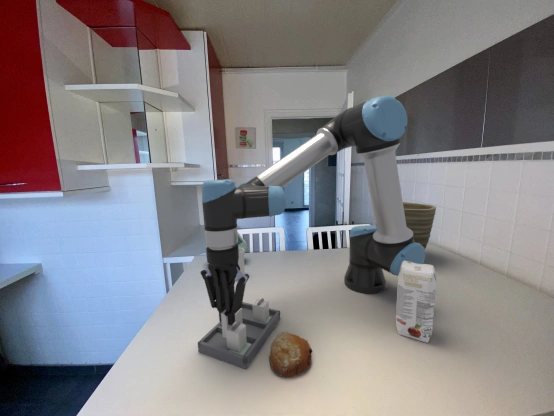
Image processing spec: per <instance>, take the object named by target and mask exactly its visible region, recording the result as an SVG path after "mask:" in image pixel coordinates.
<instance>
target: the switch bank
mask: <svg viewBox="0 0 554 416" xmlns="http://www.w3.org/2000/svg"><path fill="white" fill-rule="evenodd" d="M241 308H242V321H243V324H244V325H246V338H247V343H246V345H245V346H244V347H243V348H242V350H241V351H240V352H237V351H234V350H231V349H228V348H227V340H226V338H224V337H223V336H222V323H221V322H220V321H218V323H217V324H216V325H215V326H213V327H212V328H211V329H210V330H209V331H208V332H207V333H206V334H205V335H204V336H203V337H202V338H201V339H200V340H198V341H197V350H198V352H199V353H200V354H203V355H206V356H208V357H212V358H214V359H217V360H219V361H223V362H225V363H228V364H231V365H233V366H235V367H238V368H241V369H244V370H247V369H248V367H249V366H250V364H251V363H252V361H253V360H254V358H255V357H256V356H257V354H258V353H259V351H260V350H261V348H262V347H263V345H264V344H265V342H266V341H267V339H268V338H269V337H270V335H271V334H272V332H273V331H274V329H275V328H276V326H277V325H278V323H279V322H280V320H281V310H278V309H274V308H271V307H269V317H268V319H267V320H266V321H265V322H262V321H258V320H254V319H253V307H252V303H248V302H244V301H243V302H242V307H241Z"/></svg>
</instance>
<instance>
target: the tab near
mask: <svg viewBox="0 0 554 416" xmlns="http://www.w3.org/2000/svg"><path fill="white" fill-rule="evenodd" d="M226 340H227V348H228V349H231V350H234V351H237V352H240V351H241V350H242V348H243V347H244V346H245V345H246V343H247V338H246V325H244V324H240V322H234V323H233V324H232V326H231V325H230V326H229V327H228V328H227V329H226Z"/></svg>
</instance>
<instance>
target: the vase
mask: <svg viewBox="0 0 554 416" xmlns="http://www.w3.org/2000/svg"><path fill="white" fill-rule="evenodd" d="M403 207H404V214H405V220H406V227H407V228H409V229H411V230H412V231H413V236H414V241H415V242H416V243H419V244H421V245H422V246H423V247H424V249H425V250H426V249H427V245H428V243H429V241H430V237H431V232H432V228H433V223H434V221H435V216H436V212H437V211H436V209H437V206H435V205H432V204H425V203H417V202H407V201H403Z"/></svg>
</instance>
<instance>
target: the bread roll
mask: <svg viewBox="0 0 554 416" xmlns="http://www.w3.org/2000/svg"><path fill="white" fill-rule="evenodd" d="M312 353H313V349H312V347H311V344H309V342H308V339H305V338H304V337H301V336H300V335H297V334H295V333H292V332H289V331H285V332H281V333H279V334H278V335H277V336H276V337H275V338H274V339H273V341H272V342H271V343H270V350H269V355H268V359H269V365H270V367H271V368H272V371H273V372H275V373H276V374H277V375H278V376H281V377H284V378H293V377H295V376H298V375H299V376H300V375H301V374H303V373H305V372H306V371H307V370H308V369H309V367H310V365H311V363H312V355H313V354H312Z"/></svg>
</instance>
